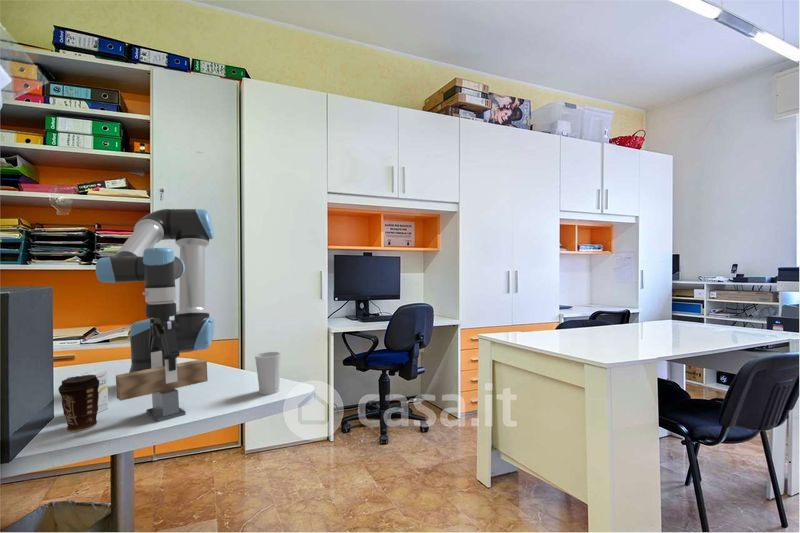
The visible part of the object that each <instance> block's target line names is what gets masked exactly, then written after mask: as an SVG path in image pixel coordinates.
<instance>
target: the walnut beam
mask: <svg viewBox="0 0 800 533" xmlns="http://www.w3.org/2000/svg"><path fill="white" fill-rule="evenodd" d="M177 380H178V381H177V382H172V383H167V384H166V377H165V366H163V367H157V368H152V369H147V370H141V371H136V372H131V373H129V372H125V373H122V374H121V373H120V374H116V375H115V382H116V383H115V389H116V390H115V392H116V398H117V400H119V402H121V401H125V400H129V399H134V398H139V397H143V396H148V395H152V394H153V393H157V392H162V391H166V390H170V389H178V388H182V387H183V388H184V387H188V386H192V385H196V384H200V383H201V384H202V383H206V382H208V381H209V380H208V362H207V360H205V359H195V360H189V361H185V362H179V363H177Z"/></svg>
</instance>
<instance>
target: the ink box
mask: <svg viewBox="0 0 800 533" xmlns="http://www.w3.org/2000/svg"><path fill="white" fill-rule="evenodd" d="M83 375H96V377H97V379H98V380H99V388H98V393H99V399H98V411H97V414H99V413H101V412H103V411H106V410H107V409H109V389H108V370H106V369H91V370H87V371H83V372H78V373H77V374H73V375H70V376H69V375H68V377H66V379H69V378H71V377H76V376H83Z"/></svg>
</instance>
